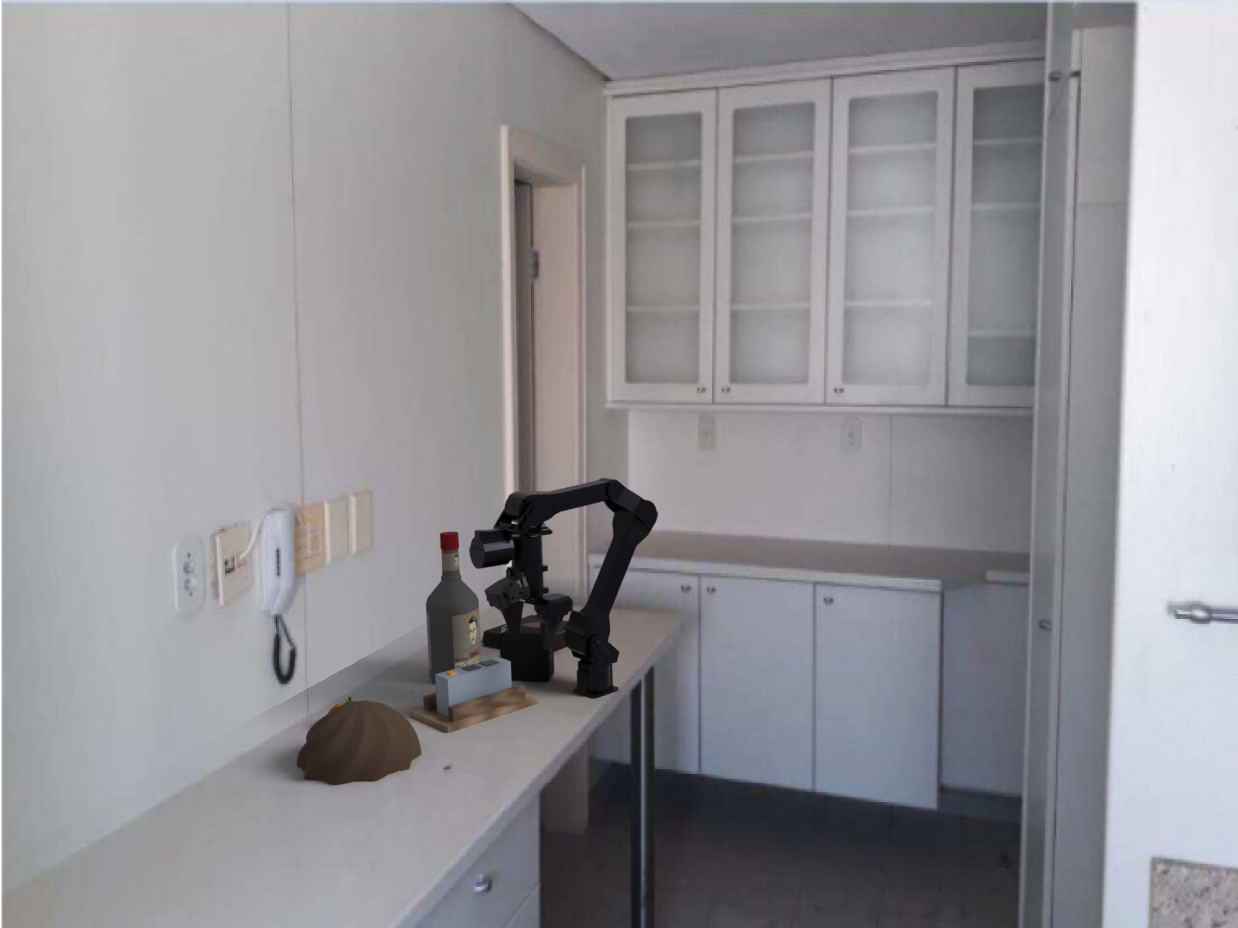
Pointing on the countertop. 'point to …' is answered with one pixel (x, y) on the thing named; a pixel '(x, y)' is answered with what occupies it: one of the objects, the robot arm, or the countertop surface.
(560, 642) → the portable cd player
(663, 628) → the countertop surface
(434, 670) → the liquor
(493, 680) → the power strip
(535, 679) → the electronic device
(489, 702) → the dock
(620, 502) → the robot arm
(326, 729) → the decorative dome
